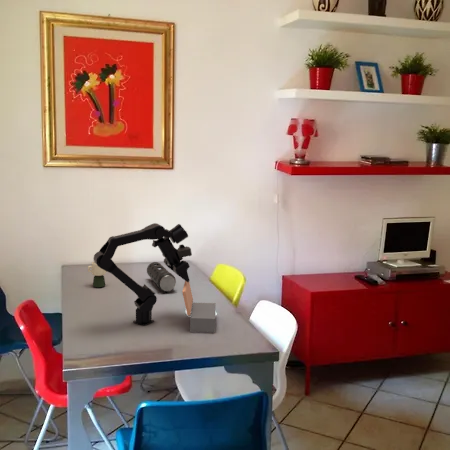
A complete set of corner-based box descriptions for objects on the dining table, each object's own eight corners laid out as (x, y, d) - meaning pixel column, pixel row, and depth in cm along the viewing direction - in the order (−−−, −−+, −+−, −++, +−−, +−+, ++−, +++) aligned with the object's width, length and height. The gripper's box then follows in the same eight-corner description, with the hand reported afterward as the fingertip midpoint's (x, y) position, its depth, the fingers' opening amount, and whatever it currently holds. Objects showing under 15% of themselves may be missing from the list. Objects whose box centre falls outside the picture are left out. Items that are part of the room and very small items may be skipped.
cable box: (190, 332, 214) (190, 318, 213) (193, 308, 243) (194, 296, 242) (214, 332, 214) (215, 318, 213) (215, 309, 243) (215, 296, 242)
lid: (190, 317, 213) (187, 317, 213) (193, 301, 233) (190, 302, 233) (185, 291, 211) (182, 291, 211) (188, 277, 231) (185, 278, 231)
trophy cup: (109, 284, 278) (109, 260, 276) (109, 288, 271) (109, 263, 269) (88, 285, 276) (88, 261, 274) (88, 289, 269) (87, 264, 267)
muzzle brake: (163, 279, 292) (163, 260, 290) (177, 293, 266) (177, 273, 264) (146, 280, 288) (146, 261, 287) (158, 295, 263) (158, 275, 261)
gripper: (190, 243, 217) (208, 274, 222) (177, 235, 234) (193, 264, 239) (168, 258, 214) (186, 288, 219) (156, 249, 231) (173, 277, 236)
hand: (185, 279), depth 228 cm, fingers open, 8 cm apart
